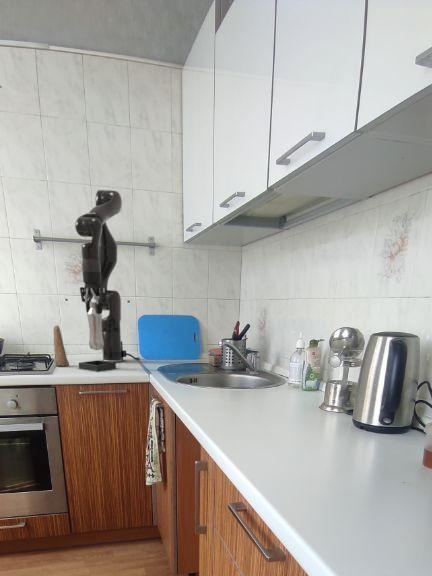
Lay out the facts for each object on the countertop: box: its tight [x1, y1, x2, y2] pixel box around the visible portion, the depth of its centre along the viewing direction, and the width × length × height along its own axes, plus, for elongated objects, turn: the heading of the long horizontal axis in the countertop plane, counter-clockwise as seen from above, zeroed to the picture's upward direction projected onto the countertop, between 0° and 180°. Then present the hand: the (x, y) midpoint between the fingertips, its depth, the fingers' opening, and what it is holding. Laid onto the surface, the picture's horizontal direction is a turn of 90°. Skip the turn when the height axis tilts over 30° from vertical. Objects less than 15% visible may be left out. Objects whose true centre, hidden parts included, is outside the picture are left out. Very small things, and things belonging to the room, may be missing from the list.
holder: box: [78, 359, 117, 372], centre depth 212 cm, size 12×12×3 cm
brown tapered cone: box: [53, 325, 70, 367], centre depth 213 cm, size 6×18×6 cm
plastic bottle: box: [86, 301, 104, 351], centre depth 206 cm, size 6×7×20 cm
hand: (94, 312), depth 203 cm, fingers closed on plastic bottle, 6 cm apart
